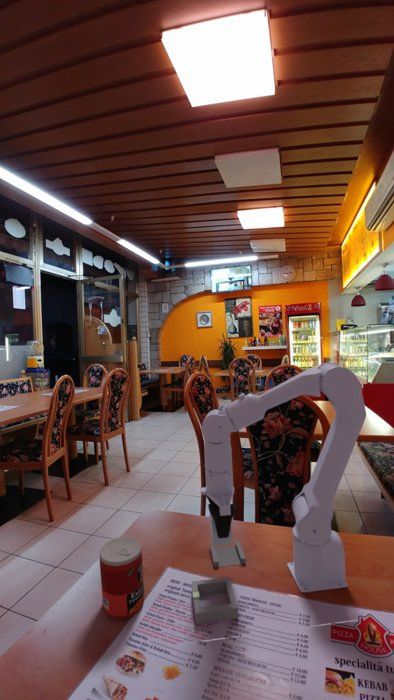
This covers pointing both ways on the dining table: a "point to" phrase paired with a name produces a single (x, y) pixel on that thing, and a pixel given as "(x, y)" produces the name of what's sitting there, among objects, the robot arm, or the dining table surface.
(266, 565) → the dining table surface
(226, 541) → the plug
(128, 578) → the canned food
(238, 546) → the grey ridged plate
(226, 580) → the port
